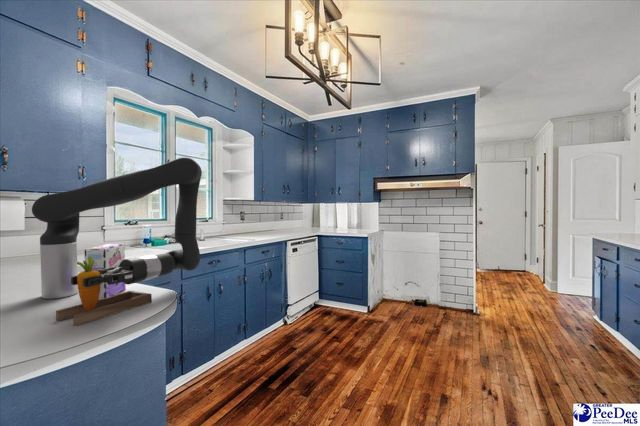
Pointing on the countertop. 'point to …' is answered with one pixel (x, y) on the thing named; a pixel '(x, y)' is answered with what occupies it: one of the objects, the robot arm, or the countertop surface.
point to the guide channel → (105, 307)
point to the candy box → (107, 265)
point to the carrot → (90, 293)
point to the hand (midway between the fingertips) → (77, 282)
